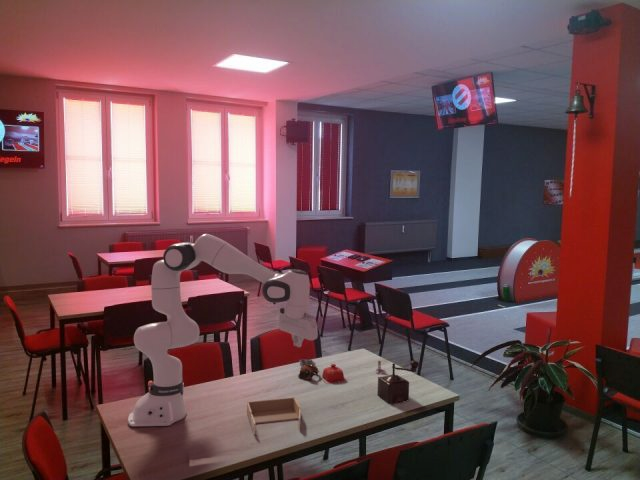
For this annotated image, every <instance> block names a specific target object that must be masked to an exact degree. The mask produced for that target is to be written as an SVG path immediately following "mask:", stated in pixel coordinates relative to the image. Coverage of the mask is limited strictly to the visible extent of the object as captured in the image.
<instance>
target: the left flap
mask: <svg viewBox="0 0 640 480" xmlns="http://www.w3.org/2000/svg"><path fill="white" fill-rule="evenodd" d="M250 424H251V425H250ZM249 425H250V426H251V430H252V432H253V435H256V424H255V421H254V418H253V415H252V413H250V422H249Z"/></svg>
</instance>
